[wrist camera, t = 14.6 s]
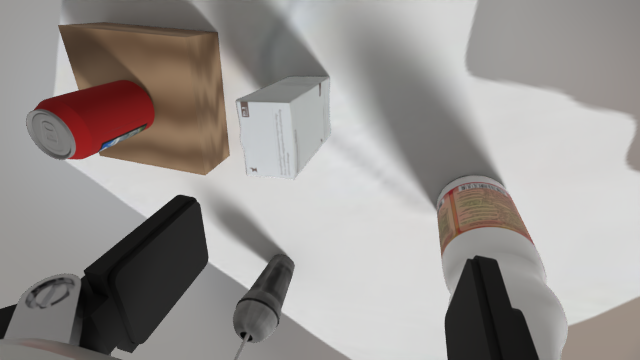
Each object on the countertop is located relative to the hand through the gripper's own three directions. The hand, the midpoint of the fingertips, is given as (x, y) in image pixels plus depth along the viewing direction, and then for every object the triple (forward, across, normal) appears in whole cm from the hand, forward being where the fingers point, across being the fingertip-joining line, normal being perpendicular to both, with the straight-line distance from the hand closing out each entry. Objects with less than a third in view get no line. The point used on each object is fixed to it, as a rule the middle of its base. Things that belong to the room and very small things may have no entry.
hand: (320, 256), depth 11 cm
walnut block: (+33, +32, +6) cm, 47 cm away
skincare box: (+34, +10, +5) cm, 35 cm away
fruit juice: (+34, -14, +16) cm, 40 cm away
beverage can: (+26, +32, +6) cm, 42 cm away
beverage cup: (+34, +14, +36) cm, 51 cm away
